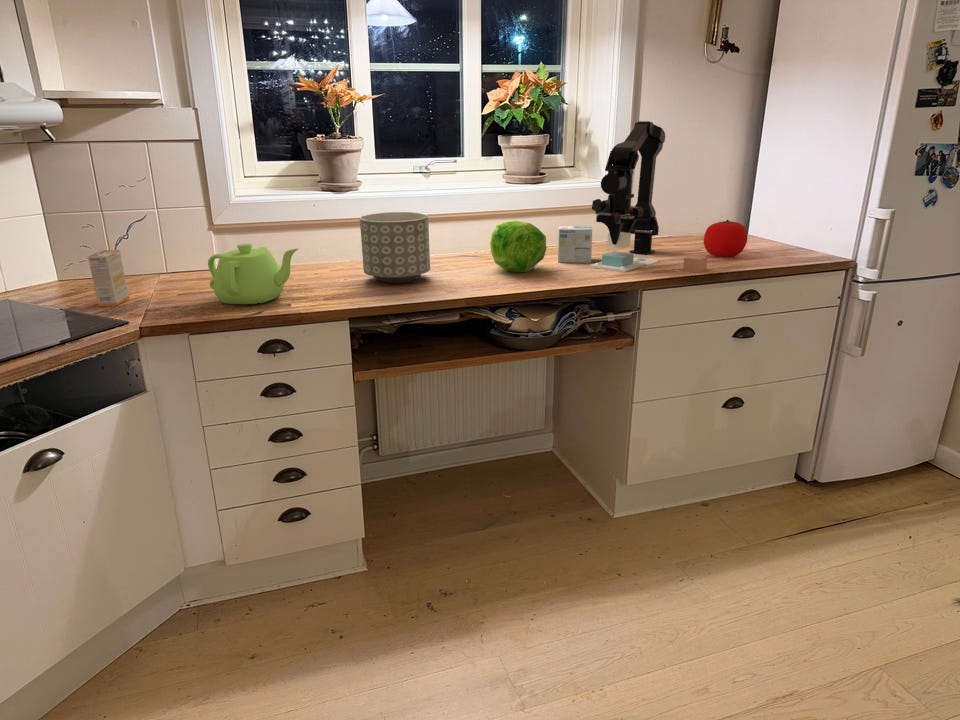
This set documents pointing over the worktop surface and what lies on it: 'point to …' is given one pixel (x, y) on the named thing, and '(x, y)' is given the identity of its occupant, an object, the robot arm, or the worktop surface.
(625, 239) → the cream brick
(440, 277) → the worktop surface
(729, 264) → the worktop surface
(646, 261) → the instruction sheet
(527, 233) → the lettuce
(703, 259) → the rust brick
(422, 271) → the planter
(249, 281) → the teapot
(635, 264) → the build plate
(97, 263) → the supplement box
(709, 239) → the tomato
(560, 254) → the light bulb box
